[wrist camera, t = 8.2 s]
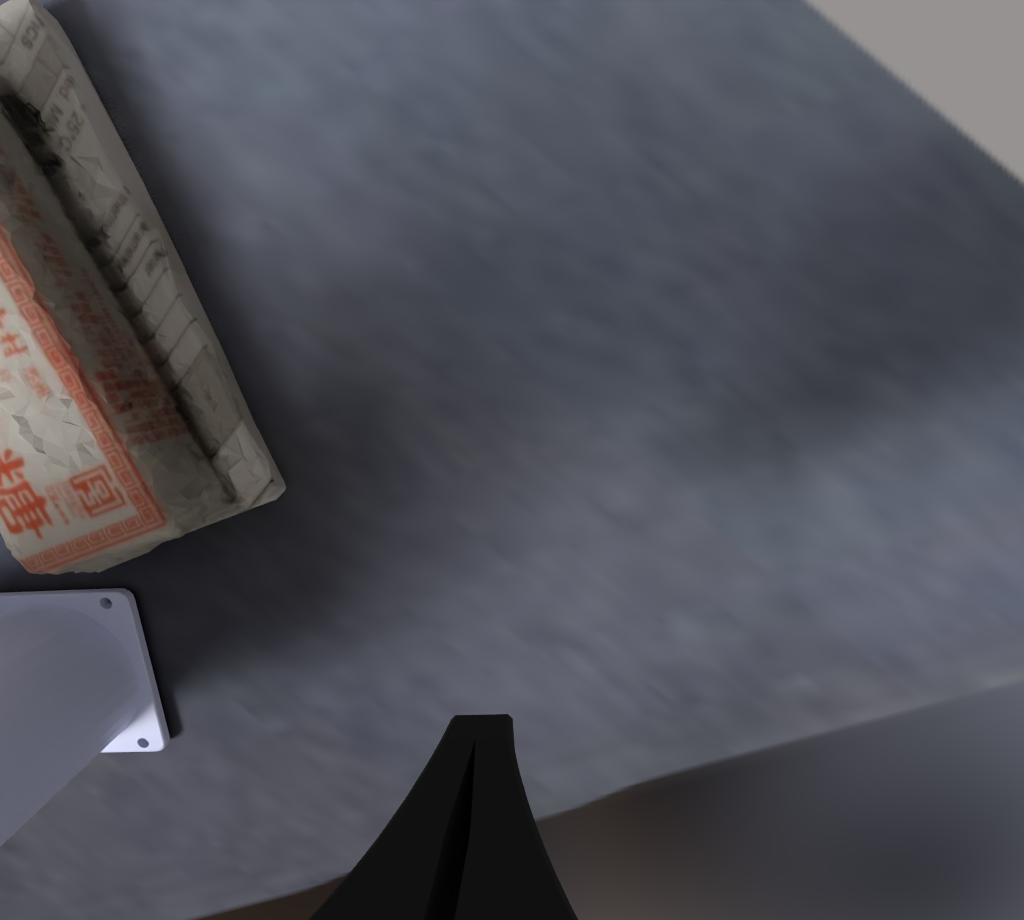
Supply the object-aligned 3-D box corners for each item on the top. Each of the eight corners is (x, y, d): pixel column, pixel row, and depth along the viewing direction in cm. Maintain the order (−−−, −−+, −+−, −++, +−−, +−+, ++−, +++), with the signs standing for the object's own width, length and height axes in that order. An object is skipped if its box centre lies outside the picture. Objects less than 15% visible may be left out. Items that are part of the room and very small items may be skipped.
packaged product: (232, 530, 16) (-19, 624, 17) (300, 488, 21) (100, 563, 22) (-105, -109, 12) (-393, 64, 14) (71, 17, 17) (-154, 136, 18)
